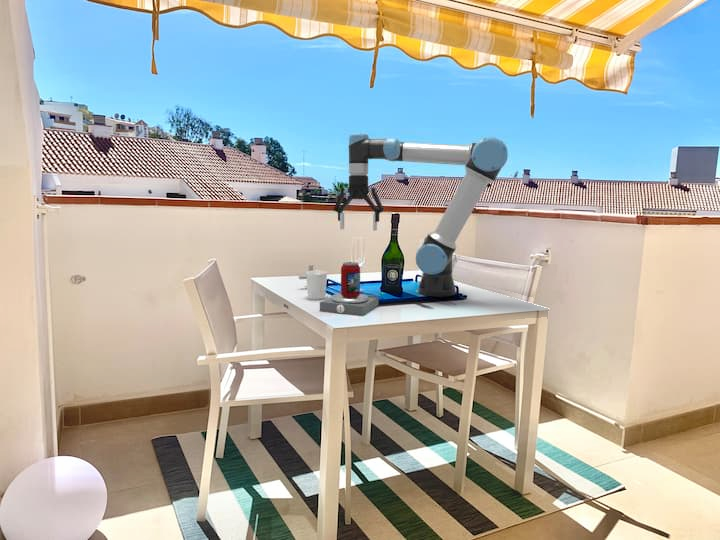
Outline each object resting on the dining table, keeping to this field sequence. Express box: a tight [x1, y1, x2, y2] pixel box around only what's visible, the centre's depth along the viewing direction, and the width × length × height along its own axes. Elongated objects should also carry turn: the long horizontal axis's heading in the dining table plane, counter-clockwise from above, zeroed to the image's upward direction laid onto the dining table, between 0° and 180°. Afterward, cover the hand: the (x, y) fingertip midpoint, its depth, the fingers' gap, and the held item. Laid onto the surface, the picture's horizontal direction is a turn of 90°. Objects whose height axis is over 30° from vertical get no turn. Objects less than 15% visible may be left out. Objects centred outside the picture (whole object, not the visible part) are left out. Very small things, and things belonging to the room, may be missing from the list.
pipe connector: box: [298, 264, 314, 280], centre depth 209 cm, size 10×10×10 cm
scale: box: [319, 292, 379, 316], centre depth 176 cm, size 16×17×3 cm
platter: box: [331, 292, 368, 304], centre depth 176 cm, size 13×13×1 cm
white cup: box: [305, 270, 328, 301], centre depth 191 cm, size 8×8×10 cm
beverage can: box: [340, 261, 361, 298], centre depth 175 cm, size 7×7×12 cm
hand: (358, 229), depth 195 cm, fingers open, 13 cm apart
